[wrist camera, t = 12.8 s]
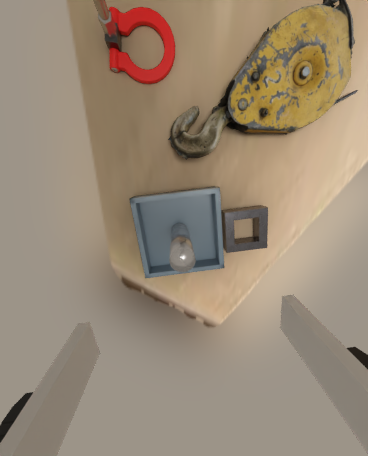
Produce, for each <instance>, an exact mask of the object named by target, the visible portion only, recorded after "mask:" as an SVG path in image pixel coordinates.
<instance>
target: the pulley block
mask: <svg viewBox="0 0 368 456" xmlns="http://www.w3.org/2000/svg"><path fill="white" fill-rule="evenodd" d="M337 1H338V0H323V4H321V5H319V4H317V5H312V6H307V7H302V8H301V9H298V10H296V11H294V12H292V13H291V14H289V15H288V16H286V17H285V18H283V19H282V20H281V21H279V22H278V23H277V24H275V25H274V26H273V27H272V28H271V29H270V30H269V27H268V29H267V31H265V32H264V33H263V35H262V37H261V39H260V41H259V43H258V45H257V46H256V47H255V49H254V50H253V52H252V53H251V55H250V56H249V57H247V60H246V62H245V63H244V64H243V66H242V67H241V68H240V70H239V71H238V72H237V74H236V75H235V77H234V78H233V79H232V81H231V82H230V84H229V86H228V88H227V90H226V93H225V96H224V97H223V98H222V99H221V103H219V104H218V106H219V107H218V106H216V107H213V111H212V115H211V116H210V117H209V118H208V120H207V121H206V122H205V123H204V124H203V127H202V129H201V131H200V133H198V134H197V135H189V134H188V133H187V131H188V129H189V127H190V126H191V125H192V124H193V123H194V121H195V120H196V118H197V117H198V115H199V109H198V106H193V107H192V108H191V109H189V110H188V111H186V112H185V113H183V114H182V115H181V116H179V117H178V118H177V119H176V120H175V121H174V123H173V126H172V128H171V136H170V138H169V139H168V140H171V144H172V147H174V148H175V150H176V151H177V153H178V155H180V156H182V157H183V158H186V160H187V158H199V157H203V156H205V155H207V154H209V153H211V152H212V151H213V150H214V149H215V148H216V146H217V144H218V142H219V140H220V137H221V133H222V130H223V128H224V127H225V126H227V127H229V128H231V129H235V130H238V131H241V132H243V133H258V134H287V133H291V132H293V131H295V130H297V129H299V128H301V127H304V126H306V125H308V124H310V123H312V122H314V121H315V120H317V119H318V118H320V117H321V116H322V115H323V114H325V113H326V112H327V111H328V110H329V109H330V108H331V107H332V106H333V105H334V104H336V103H338V102H340V101H342V100H343V99H345V98H347V97H349V96H351V95H353V94H355V93H356V92H357V91H358V90H356V91H354V92H352V93H350V94H348V95H346V96H344V97H343V98H341V99H338V98H339V96H340V95H341V93H342V92H343V90H344V89H345V87H346V85H347V83H348V81H349V79H350V76H351V62H350V61H351V58H352V57H351V55H352V48H353V45H354V43H355V41H354V37H353V18H352V15H351V12H350V9H349V7H348V5H347V3H346V0H339V5H338V7H336V8H334V6H335V5H333V3H335V2H337ZM330 6H331V7H330ZM337 99H338V100H337Z"/></svg>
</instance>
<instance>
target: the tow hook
mask: <svg viewBox="0 0 368 456" xmlns="http://www.w3.org/2000/svg"><path fill="white" fill-rule="evenodd" d="M93 1H94V4H95V6H96V9H97V11H98V18H99V21H100V23H101V26H102V28H103V30H104V33H105V41H106V43H107V46H108V48H109V50H110V70H112V71H113V72H120V70H121V71H126V72H127V74H128V75H129V76H131V77H132V78H133V79H134V80H136V81H138V82H141V83H145V84H152V83H157V82H159V81H161V80H162V79H164V78H165V77H166V76H167V75H168V73H169V72H170V70H171V68H172V66H173V62H174V58H175V42H174V37H173V34H172V31H171V29H170V26H169V25H168V24H167V22H166V21H165V19H164V18H163V17H162V16H161V15H160V14H159V13H157V12H156V11H154V10H152V9H150V8H144V7H139V8H133V9H131V10H130V11H128V12H126V13H121V12H119V10H118V9H116V8H114V7H110V8H109V9H108V8H107V5H106V2H105V0H93ZM140 25H147V26H150V27H152V28H154V29H155V30H156V31H157V32H158V33H159V35H160V36H161V38H162V40H163V43H164V48H165V53H164V57H163V59H162V61H161V63H160V64H159V65H158V66H157V67H155V68H154V69H150V70H145V69H141V68H139V67H137V66H136V65H135V64H134V63H133V62H132V61H131V59H130V57H129V55H128V54H127V53H124V52H121V35H126V36H128V35H129V34H130V32H131V31H132V30H133V29H134V28H136V27H137V26H140Z"/></svg>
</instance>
